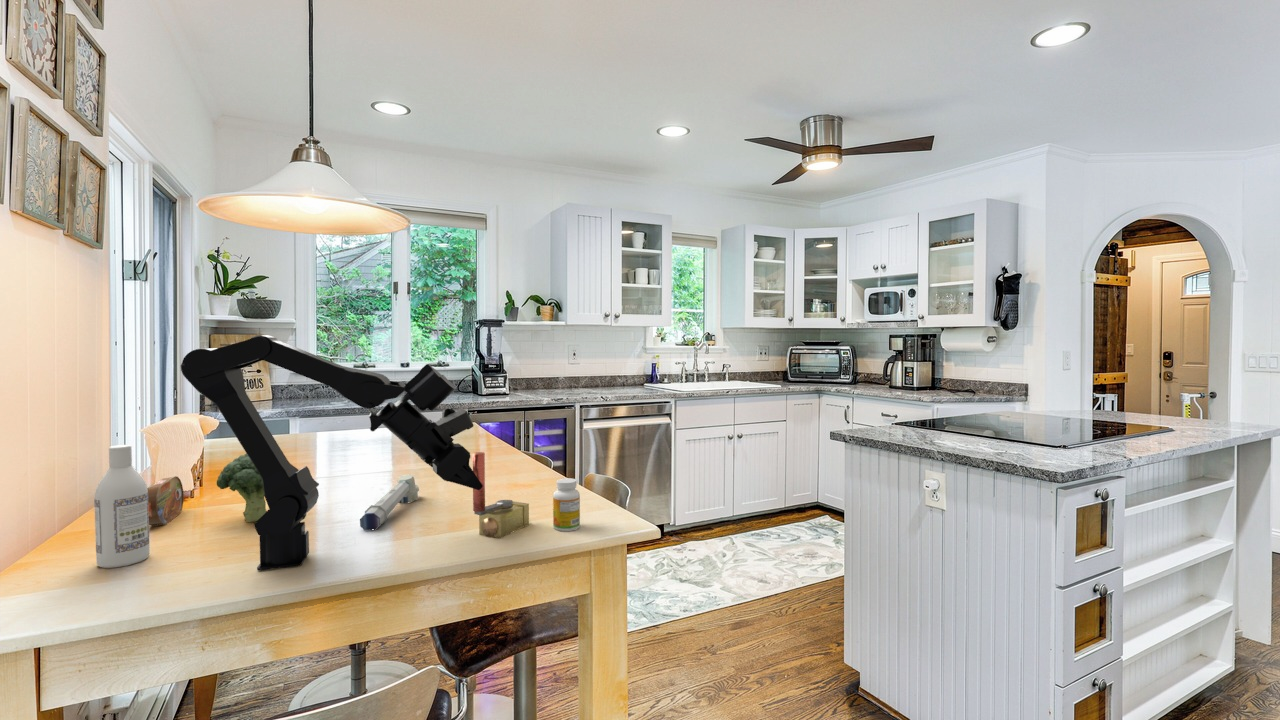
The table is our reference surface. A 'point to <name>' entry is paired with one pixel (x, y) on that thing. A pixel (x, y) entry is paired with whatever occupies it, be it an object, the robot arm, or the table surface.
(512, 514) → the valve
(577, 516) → the supplement bottle
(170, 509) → the tin
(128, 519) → the bath foam
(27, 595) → the table surface
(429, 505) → the table surface
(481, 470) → the lever
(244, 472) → the vegetable
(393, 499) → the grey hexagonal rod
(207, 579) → the table surface
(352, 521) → the table surface
